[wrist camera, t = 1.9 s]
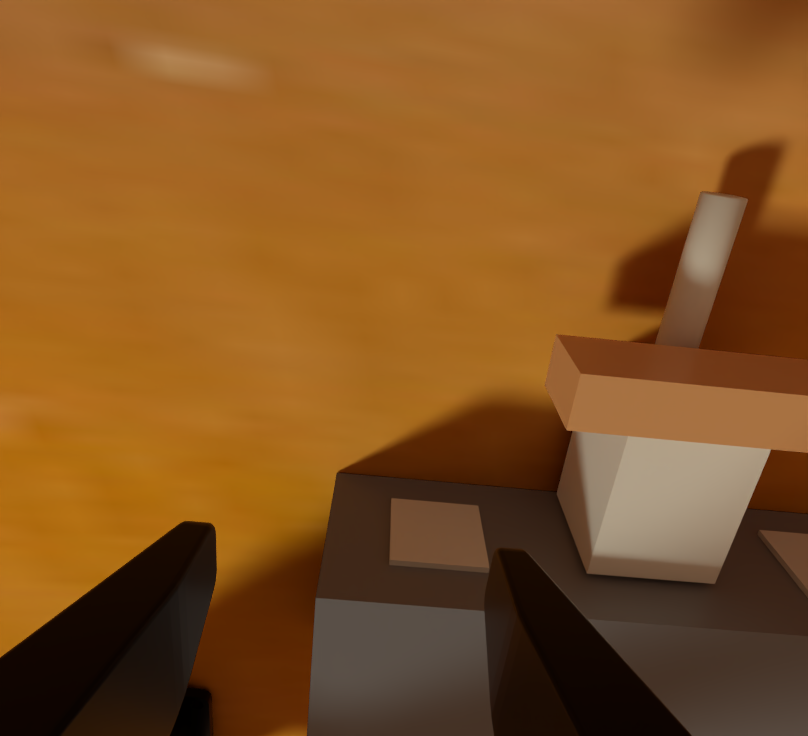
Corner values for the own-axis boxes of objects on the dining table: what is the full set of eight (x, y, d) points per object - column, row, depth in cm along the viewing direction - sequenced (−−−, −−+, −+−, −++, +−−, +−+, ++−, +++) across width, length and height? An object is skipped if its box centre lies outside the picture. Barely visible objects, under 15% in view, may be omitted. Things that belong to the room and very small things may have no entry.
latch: (808, 410, 18) (868, 458, 16) (544, 385, 18) (566, 430, 15) (829, 361, 18) (895, 404, 15) (556, 334, 17) (580, 373, 15)
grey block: (786, 666, 26) (885, 816, 21) (325, 631, 26) (304, 779, 20) (866, 514, 23) (1009, 646, 18) (337, 468, 22) (316, 592, 17)
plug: (663, 503, 22) (714, 584, 19) (556, 493, 22) (587, 573, 18) (771, 196, 18) (866, 224, 14) (636, 181, 18) (698, 206, 14)
